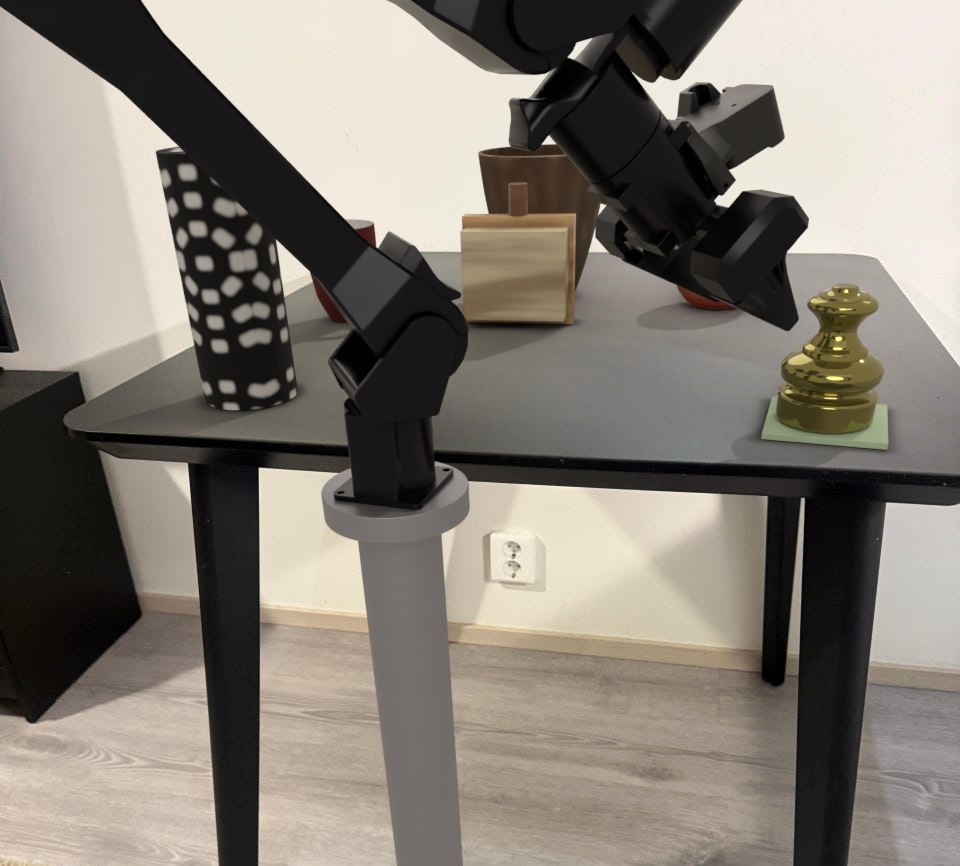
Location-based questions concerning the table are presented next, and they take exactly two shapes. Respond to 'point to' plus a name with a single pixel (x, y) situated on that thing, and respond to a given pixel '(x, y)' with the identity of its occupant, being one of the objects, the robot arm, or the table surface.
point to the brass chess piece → (832, 368)
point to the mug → (366, 232)
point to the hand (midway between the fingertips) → (754, 310)
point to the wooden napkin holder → (518, 264)
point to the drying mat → (865, 438)
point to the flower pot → (542, 189)
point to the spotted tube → (228, 290)
